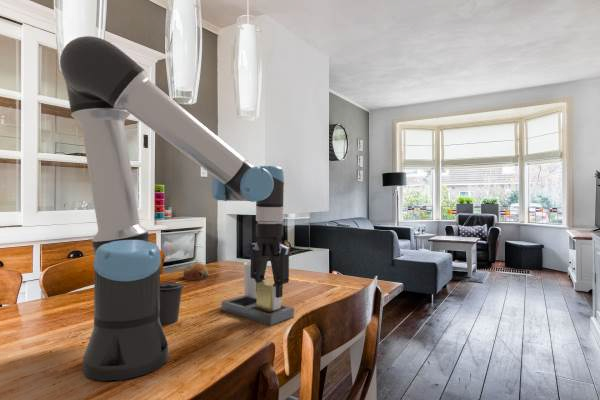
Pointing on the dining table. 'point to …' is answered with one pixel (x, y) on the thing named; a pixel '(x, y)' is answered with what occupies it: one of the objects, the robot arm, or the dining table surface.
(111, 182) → the robot arm
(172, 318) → the coffee cup
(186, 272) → the bread roll
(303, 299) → the dining table surface
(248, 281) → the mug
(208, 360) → the dining table surface
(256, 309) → the grey flat frame
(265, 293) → the pale yellow block
